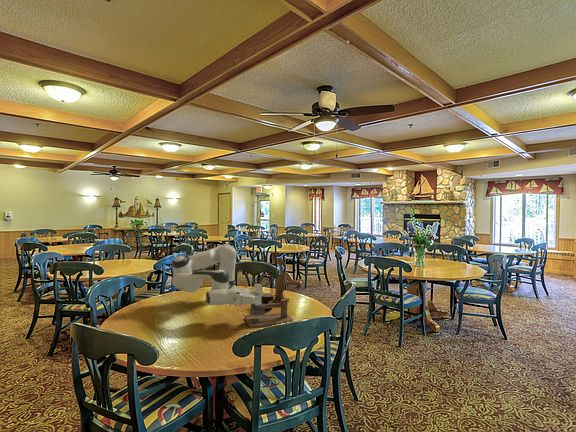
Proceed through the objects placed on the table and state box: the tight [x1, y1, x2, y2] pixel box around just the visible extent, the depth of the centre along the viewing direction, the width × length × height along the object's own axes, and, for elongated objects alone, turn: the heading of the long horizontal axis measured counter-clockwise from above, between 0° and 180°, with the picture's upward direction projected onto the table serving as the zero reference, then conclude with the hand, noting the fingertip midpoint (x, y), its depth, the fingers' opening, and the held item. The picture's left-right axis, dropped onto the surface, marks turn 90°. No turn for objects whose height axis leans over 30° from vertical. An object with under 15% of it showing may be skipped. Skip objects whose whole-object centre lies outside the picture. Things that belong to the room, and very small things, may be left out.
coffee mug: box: [261, 292, 277, 312], centre depth 214 cm, size 12×9×10 cm
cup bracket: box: [244, 299, 294, 329], centre depth 193 cm, size 16×26×12 cm, turn 107°
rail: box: [253, 283, 263, 307], centre depth 191 cm, size 4×4×16 cm
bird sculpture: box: [273, 257, 290, 303], centre depth 231 cm, size 11×12×32 cm
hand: (259, 294), depth 191 cm, fingers open, 8 cm apart
